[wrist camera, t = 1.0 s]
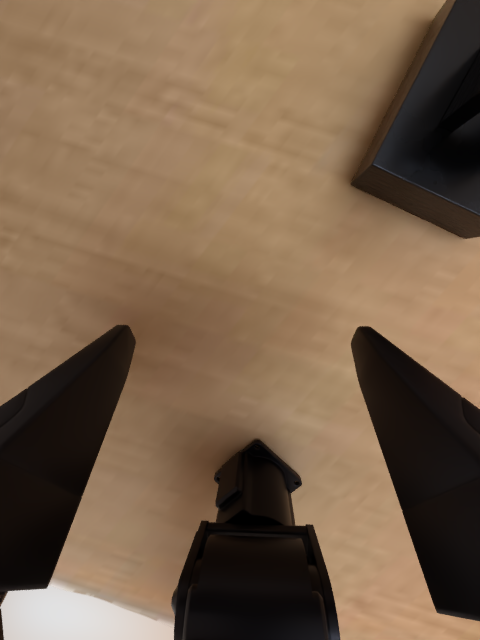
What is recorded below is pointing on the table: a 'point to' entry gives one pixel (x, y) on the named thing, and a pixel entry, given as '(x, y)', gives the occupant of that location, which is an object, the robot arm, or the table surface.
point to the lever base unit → (434, 128)
